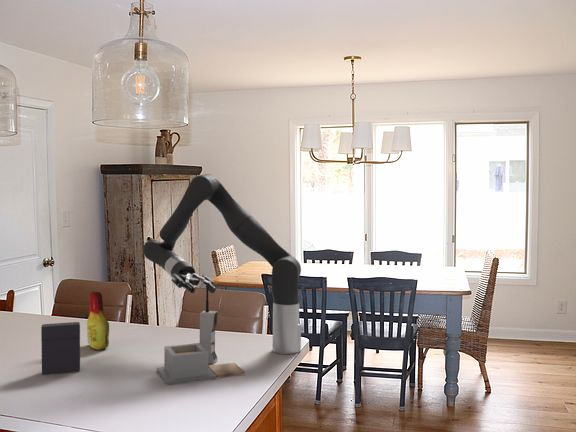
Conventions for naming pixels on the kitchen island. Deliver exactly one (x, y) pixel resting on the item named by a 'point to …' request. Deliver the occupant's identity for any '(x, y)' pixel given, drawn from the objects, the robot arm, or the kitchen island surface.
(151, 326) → the kitchen island surface
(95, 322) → the bottle
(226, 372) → the walnut pad
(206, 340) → the vintage mobile phone
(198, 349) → the box
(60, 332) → the calculator
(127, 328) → the kitchen island surface
